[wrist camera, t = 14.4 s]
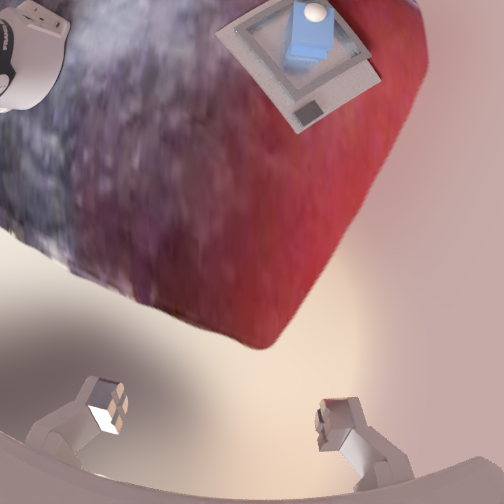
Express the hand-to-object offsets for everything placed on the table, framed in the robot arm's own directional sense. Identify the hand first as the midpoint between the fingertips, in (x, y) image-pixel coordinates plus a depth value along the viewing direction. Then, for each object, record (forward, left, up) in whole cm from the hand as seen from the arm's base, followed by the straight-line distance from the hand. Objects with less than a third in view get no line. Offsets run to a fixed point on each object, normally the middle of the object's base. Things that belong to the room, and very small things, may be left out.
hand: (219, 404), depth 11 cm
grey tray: (-12, +18, -31) cm, 38 cm away
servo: (-13, +19, -30) cm, 38 cm away
